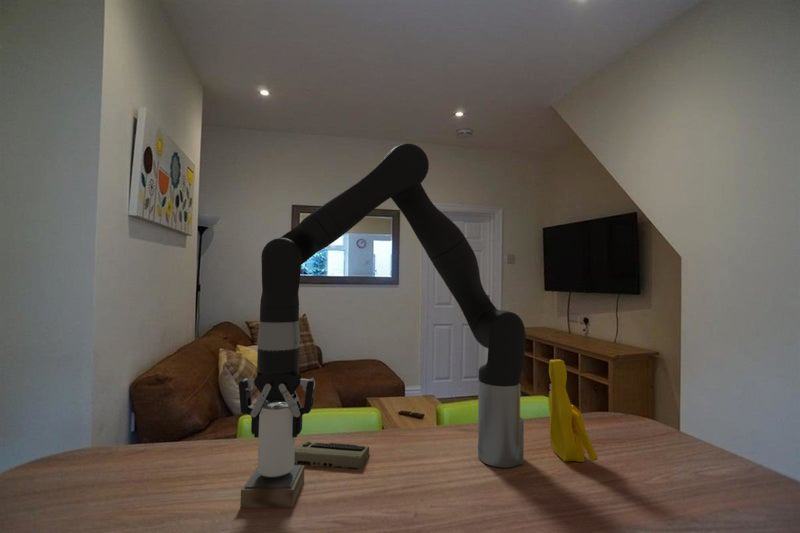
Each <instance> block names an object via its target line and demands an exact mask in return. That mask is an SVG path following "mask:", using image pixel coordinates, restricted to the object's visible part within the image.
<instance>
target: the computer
mask: <svg viewBox="0 0 800 533" xmlns="http://www.w3.org/2000/svg"><path fill="white" fill-rule="evenodd" d="M369 455H370V446H367V445H357V444H349V443H348V444H347V443H336V442H330V443H329V442H319V441H318V442H317V441H306V440H304V441H302V442H301V443H300V444H298V445H297V446H295V458H294V465H299V464H300V463H299V462H302V463H301V464H310V466H311V465H313V466H314V467H315V466H316V467H323V468H324V467H325V468H327V467H328V468H340V469H341V468H342V469H354V470H360V471H361V470H363V467H364V465H365V463H366V460H367V459H368V457H369ZM295 463H296V464H295ZM298 463H299V464H298ZM313 466H312V467H313Z"/></svg>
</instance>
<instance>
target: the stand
mask: <svg viewBox="0 0 800 533" xmlns="http://www.w3.org/2000/svg"><path fill="white" fill-rule="evenodd" d="M305 467H306V466H305V465H301V464H294V468H293V469H292V470H291V472H289V473H288V474H286V475H284V476H280V477H275V478H269V477H264V476H262V475H260V473H259V472H258V466H257V467H255V470H254V471H253V472H252V473H251V475H250V476H249V478H248V479H247V481H245V482H246V483H244V485H243V486H242V488H241V489H240V505H239V506H240V509H261V508H262V509H268V508H271V509H272V508H273V509H274V508H276V509H277V508H278V509H280V508H282V509H283V508H285V509H287V508H289V509H290V508H291V509H292V508H294V506H295V504H296V501H297V499H298V496H299V494H300V493H301V490H302V487H303V485H304V483H305Z"/></svg>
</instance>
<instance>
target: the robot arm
mask: <svg viewBox="0 0 800 533" xmlns="http://www.w3.org/2000/svg"><path fill="white" fill-rule="evenodd" d="M429 164H430V163H429V158H428V155H427V154H426V152H425V151H424V149H422V148H421V147H420V146H419V145H416V144H413V143H401V144H398V145H397V146H395V147H393V148H392V149H391V150H389V151H388V153H387V154H386V155H385V156H384V157H383V158H382V160H381V161H380V162H379V164H378V165H377V166H376V167H374V168H373V170H372V171H370V172H369V173H368V174H367V175H365V176H364V177H363V178H361V179H360V180H359V181H358V182H356V183H354V184H353V185H352V186H350V187H348V188H347V189H346V190H344V191H342V192H341V193H340V194H338V195H336V196H334V197H333V198H331V199H330V200H329V201H327V202H326V203H324V204H322V205H321V206H319V207H318V208H317V209H316V210H314V211H313V212H312V213H310V214H308V215H307V216H306V217H305V218H303V219H302V220H301V221H300V222H299V223H298V225H297V226H295V227H294V228H292V229H291V230H289V231H287V232H286V233H285V234H283V235H281V237H277V238H274V239H271V240H269V241H267V243H266V244H265V245H264V247H263V249H262V252H261V255H260V256H261V289H262V290H261V298H260V304H259V305H260V306H259V307H260V308H259V326H258V332H257V340H256V345H257V353H256V354H257V358H256V375H255V376H256V377H255V378H248V377H245V378H243V379H242V380H240V381H239V383H238V395H239V406H240V412H241V414H243V415H245V414H246V415H249V416H250V418H251V424H250V426H251V427H250V432H251V435H253V437H254V438H257V439H258V437H259V414H260V411H261V409H262V405H264V404H265V402H268V401H275V400H277V401H285V400H286V403H287V405H288V406H289V407H290V408H291V410H292V412H293V414H294V417H293V431H292V437H295V438H297V437H298V436H299V435H300V434H301V432H302V430H303V415H307V414H309V413H310V412H311V411H312V409H313V406H314V399H315V392H316V383H317V381H316V380H317V379H316V378H314V377H312V378H309V379H308V378H302V377H301V375H300V348H301V346H300V345H301V344H300V343H301V342H300V341H301V340H300V339H301V338H300V336H301V331H300V330H301V329H300V322H299V319H300V299H299V291H300V283H301V275H302V274H301V272H302V265H304V264H305V262H307V261H308V260H309V259H311V258H312V257H313V256H315V254H317V253H318V252H320V251H322V250H323V249H326V248H327V247H329V246H330V245H332V244H333V243H334V242H335V241H337V240H338V239H339V238H341V237H343V236H344V235H345V234H346V233H349V231H350V230H352V229H353V228H354V227H355V226H356V225H357V224H359V223H360V222H361V221H363V219H364V218H366V217H367V216H368V215H370V213H372V212H373V211H374V210H375V209H376V208H378V207H379V206H381V205H382V204H383V203H385V202H386V201H387V200H389V199H391V200H392V201H393V202H394V204H395V205H396V206H397V208H398V210H400V212H401V213H402V215H403V216H404V217H405V219H406V220H407V223H409V226H410V227H411V229H412V230H413V232H414V235H415V236H416V237H417V239H418V241H419V243H420V245H421V246H422V247H423V249H424V250H425V251H424V252H425V253H426V255H427V257H428V258H429V261H430V262H431V264H432V265H433V266H434V268H435V269H436V271H437V273H438V274H439V276H440V277H441V279H442V280H443V282H444V284H445V285H446V287H447V289H448V290H449V291H450V293H451V295H452V297H453V298H454V300H455V301H456V302H457V304H458V307H459V308H460V310H461V312H462V314H463V316H464V318H465V320H466V322H467V324H468V327H469V329H470V331H471V333H472V335H473V337H474V339H475V340H476V341H477V343H479V345H480V346H482V347H484V348H486V349H487V360H486V363H485V364H484V365H481V366H479V368H478V382H477V383H478V391H477V392H478V396H477V397H478V399H477V400H478V406H477V410H478V411H477V412H478V413H477V414H478V418H477V420H478V421H477V422H478V424H477V427H478V428H477V431H478V432H477V437H478V438H477V456H478V459H479V460H480V461H481V462H482V463H484V464H487V465H489V466H492V467H495V468H514V467H517V466H519V465H524V464H525V462H524V457H525V455H524V454H525V452H524V449H525V446H524V445H525V444H524V441H525V440H524V439H525V438H524V436H525V435H524V434H525V433H524V430H525V428H524V427H525V426H524V422H525V421H524V419H523V418H522V417H521V376H522V374H523V371H524V368H525V358H526V354H525V353H526V328H525V324H524V322H523V320H522V318H521V317H520V315H518V314H516V312H513V311H508V310H500V309H497V307H496V306H495V305H494V304H493V302H492V301H491V299H490V297H489V296H488V295H487V293H486V291H485V290H484V286H483V285H482V281H481V280H482V279H481V276H480V268H479V264H478V259H477V256H476V253H475V252H474V250H473V248H472V246H471V245H470V243H469V240H467V238H466V236H465V234H464V233H463V231H462V230H461V229H460V227H458V225H456V224H455V223H454V221H452V220H451V219H450V218H449V217H448V216H446V215H445V214H444V213H443V212H442V211H441V210H440V209H439V208H438V207H436V205H435V204H434V203H433V202H432V201H431V198H430V197H429V195H428V194H427V192H426V190H425V188H424V187H423V185H422V183H423V181H424V180H425V179H426V177H427V174H428V172H429V169H430V168H429ZM254 386H255V387H256V389H257V390H258V391H259V393H260V394H259V396H258V398H257V399H256V402H255V404H254V405H253V401H252V390H253V389H254ZM300 386H301V387H302V390H303V391H304V392H305V396H304V397H305V398H304V403H303V404H304V405H302V404H301V402H300V398H299V396H298V393H297V392H296V390H297V389H298V388H299V387H300Z"/></svg>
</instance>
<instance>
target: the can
mask: <svg viewBox="0 0 800 533" xmlns="http://www.w3.org/2000/svg"><path fill="white" fill-rule="evenodd" d="M293 417H294V414H293V412H292V410H291V408H290V407H289V406H288V405H287V403H286V400H285V401H277V400H275V401H268V400H267V402H265V404H264V405H262V409H261V411H260V414H259V437H258V438H257V440H258V444H257V467H258V472H259V473H260V475H262V476H264V477H269V478H275V477H280V476H284V475H286V474H288V473H289V472H291V470H292V469H293V468H294V465H295V464H294V458H295V447H296V437H292V431H293Z"/></svg>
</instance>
